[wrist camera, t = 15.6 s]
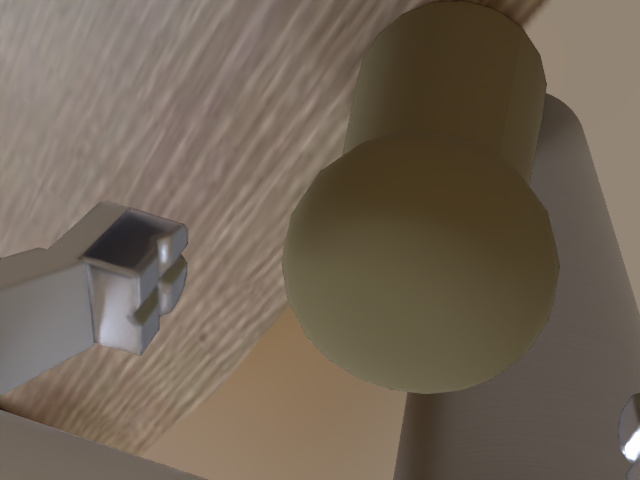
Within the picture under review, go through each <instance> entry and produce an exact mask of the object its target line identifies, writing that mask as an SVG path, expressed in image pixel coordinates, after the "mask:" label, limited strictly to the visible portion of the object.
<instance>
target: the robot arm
mask: <svg viewBox="0 0 640 480" xmlns="http://www.w3.org/2000/svg"><path fill="white" fill-rule="evenodd" d="M187 244H188V228H187V227H186V226H185V225H184V224H182V223H179V222H176V221H172V220H169V219H166V218H163V217H160V216H156V215H153V214H150V213H147V212H144V211H141V210H137V209H134V208H133V209H132V208H130V207H127V206H123V205H120V204H117V203H113V202H110V201H104V202H100V203H98V204H97V205H96V206H95V207H94V208H93V209H92V210H91V211H90V212H88V213H87V214H86V215H85V216H84V217H83V218H82V219H81V220H80V221H79V222H77V223H76V224H75V225H74V226H73V227H72V228H71V229H70V230H69V231H67V232H66V233H65V234H64V235H63V236H62V237H61V238H60V239H59V240H57V241H56V242H55V243H54V244H53V245H52V246H51V247H50V248H49V249H47V250H46V249H43V248H35V249H32V250H28V251H25V252H21V253H18V254H14V255H11V256H7V257H4V258H0V396H1V395H3V394H5V393H7V392H9V391H10V390H12V389H14V388H16V387H18V386H20V385H21V384H23V383H25V382H27V381H29V380H31V379H33V378H34V377H36V376H38V375H40V374H42V373H44V372H45V371H47V370H49V369H51V368H53V367H55V366H57V365H58V364H60V363H62V362H64V361H66V360H68V359H70V358H71V357H73V356H75V355H77V354H79V353H81V352H82V351H84V350H86V349H88V348H90V347H92V346H94V343H98V344H101V345H105V346H108V347H112V348H115V349H119V350H122V351H126V352H129V353H133V354H136V355H140V356H141V355H142V353H143V352H144V350H145V349H146V348H147V346H148V345H149V343H150V342H151V340H152V339H153V338H154V336H155V335H156V333H157V332H158V330H159V317H161V316H163V315H165V314H168V313H170V312H171V311H172V310H173V308H174V307H175V305H176V304H177V302H178V301H179V298H180V296H181V293H182V291H183V289H184V286H185V281H186V276H187V262H186V261H185V259H184V257H183V256H182V254H181V253H182V251H183V250H184V248H185V247H186V246H187ZM618 438H619V443H620V448H621V451H622V452H623V453H624V455H625V456H626V457H627V458H628V460H629V461H630V462H631V463H632V464H633V466H632V467H631V468H630V470H629V471H628V472H627V473H626V477H627V480H640V393H638V394H635V395H632V397H631V398H630V399H629V401H628V402H627V404H626V405H625V407H624V408H623V410H622V414H621V417H620V421H619V427H618ZM0 480H208V479H204V478H201V477H199V476H196V475H193V474H189V473H187V472H184V471H181V470H178V469H175V468H171V467H169V466H166V465H163V464H160V463H157V462H154V461H151V460H148V459H145V458H142V457H139V456H136V455H133V454H130V453H127V452H124V451H121V450H118V449H115V448H113V447H110V446H107V445H104V444H101V443H98V442H95V441H92V440H89V439H86V438H83V437H80V436H77V435H74V434H71V433H68V432H65V431H62V430H59V429H56V428H53V427H50V426H47V425H44V424H41V423H38V422H35V421H32V420H29V419H26V418H23V417H20V416H17V415H15V414H12V413H9V412H6V411H3V410H0Z"/></svg>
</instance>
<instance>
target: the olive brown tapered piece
mask: <svg viewBox="0 0 640 480" xmlns="http://www.w3.org/2000/svg"><path fill="white" fill-rule="evenodd" d="M546 86H547V83H546V79H545V74H544V70H543V66H542V61H541V56H540V54H539V52H538V51H537V49H536V48H535V46H534V45H533V43H532V42H531V40H530V39H529V37H528V36H527V34H526V32H525V31H524V29H523V28H521V27H520V26H518V25H517V24H516V23H514V22H513V21H512V20H510V19H509V18H508V17H506V16H505V15H503V14H502V13H501V12H499V11H498V10H495V9H492V8H489V7H485V6H482V5H478V4H475V3H472V2H468V1H454V2H434V3H431V4H428V5H426V6H423V7H420V8H418V9H415V10H412V11H410V12H407V13H405V14H403V15H402V16H400V17H399V18H398V19H397V20H395V21H394V22H393V23H392V24H390V25H389V26H388V27H387V28H385V29H384V30H383V31H382V32H380V33H379V35H378V36H377V38H376V39H375V41H374V42H373V44H372V46H371V47H370V49H369V50H368V52H367V53H366V55H365V56H364V58H363V61H362V65H361V68H360V72H359V76H358V80H357V83H356V88H355V93H354V98H353V103H352V108H351V114H350V119H349V124H348V129H347V134H346V140H345V145H344V150H343V155H342V157H340V158H339V159H337V160H336V161H335V162H333V163H332V164H330V165H329V166H327V167H326V168H324V169H323V170H321V171H320V173H319V174H318V175H317V177H316V178H315V180H314V181H313V183H312V184H311V185H310V187H309V188H308V190H307V191H306V193H305V194H304V195H303V197H302V198H301V200H300V201H299V203H298V205H297V206H296V208H295V210H294V212H293V213H292V215H291V219H290V223H289V228H288V232H287V236H286V241H285V245H284V252H283V261H282V268H283V274H284V280H285V287H286V293H287V298H288V300H289V302H290V305H291V307H292V310H293V312H294V314H295V316H296V317H297V319H298V321H299V323H300V325H301V327H302V328H303V330H304V332H305V334H306V336H307V338H308V339H309V340H310V341H311V342H312V343H313V344H314V345H315V346H316V347H317V348H318V349H319V350H320V351H321V352H322V353H323V354H324V355H325V356H326V357H327V358H328V359H329V360H330V361H331V362H333V363H334V364H336V365H338V366H339V367H341V368H342V369H344V370H346V371H347V372H349V373H351V374H352V375H354V376H355V377H357V378H359V379H362V380H365V381H368V382H371V383H373V384H376V385H379V386H382V387H385V388H388V389H390V390H398V391H406V392H413V393H421V394H431V393H442V392H453V391H461V390H464V389H466V388H469V387H472V386H475V385H478V384H481V383H483V382H486V381H489V380H492V379H493V378H494V377H496V376H497V375H498V374H500V373H501V372H503V371H504V370H505V369H507V368H508V367H509V366H511V365H512V364H513V363H515V362H516V361H517V360H518V359H520V358H521V357H522V356H523V355H524V354H525V353H526V352H527V351H528V350H529V349H530V348H531V346H532V345H533V343H534V342H535V340H536V339H537V337H538V336H539V334H540V333H541V331H542V329H543V328H544V326H545V325H546V323H547V322H548V320H549V317H550V313H551V310H552V306H553V303H554V298H555V292H556V286H557V280H558V274H559V268H560V265H559V259H558V254H557V248H556V244H555V240H554V236H553V232H552V228H551V224H550V220H549V216H548V212H547V210H546V209H545V208H544V206H543V205H542V203H541V202H540V201H539V199H538V198H537V197H536V195H535V194H534V192H533V191H532V190H531V188H530V187H529V185H530V180H531V174H532V169H533V164H534V158H535V153H536V148H537V142H538V137H539V132H540V127H541V121H542V116H543V109H544V102H545V94H546Z"/></svg>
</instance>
